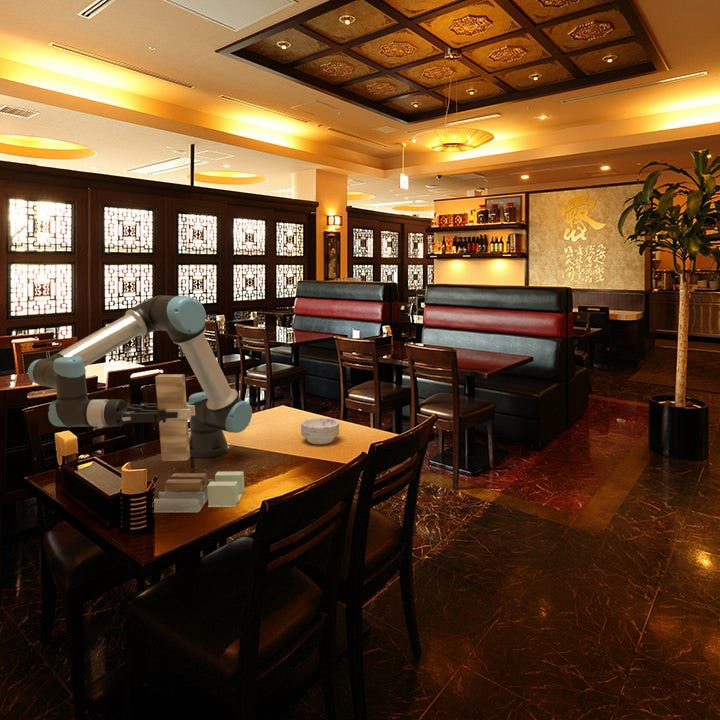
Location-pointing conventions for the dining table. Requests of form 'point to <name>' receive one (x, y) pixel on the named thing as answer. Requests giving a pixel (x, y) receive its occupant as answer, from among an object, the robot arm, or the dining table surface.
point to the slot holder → (226, 489)
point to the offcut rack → (181, 500)
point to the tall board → (173, 430)
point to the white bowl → (320, 430)
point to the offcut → (191, 477)
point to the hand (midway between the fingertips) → (192, 412)
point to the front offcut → (184, 485)
